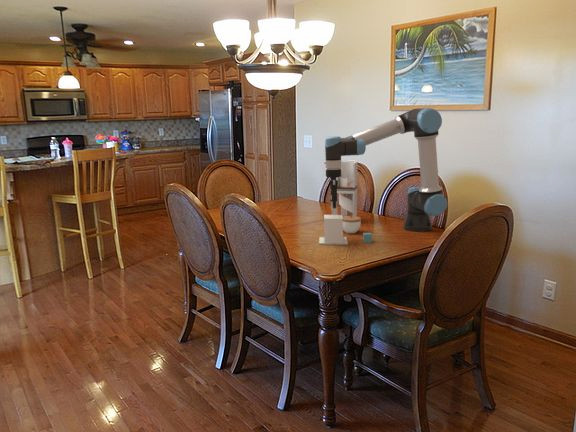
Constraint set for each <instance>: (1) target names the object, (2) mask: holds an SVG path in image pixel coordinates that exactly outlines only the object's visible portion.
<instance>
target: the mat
mask: <svg viewBox="0 0 576 432" xmlns="http://www.w3.org/2000/svg"><path fill="white" fill-rule="evenodd" d="M318 244H319V245H330V246H331V245H333V246H334V245H342V246H343V245H344V246H345V245H346V246H347V245H349V241H348V239H347V237H346V236H343V243H324V236H319V238H318Z"/></svg>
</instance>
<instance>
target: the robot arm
mask: <svg viewBox="0 0 576 432" xmlns="http://www.w3.org/2000/svg"><path fill="white" fill-rule="evenodd" d="M442 125H443V118H442V116H441V114H440V111H437V109H434V108H430V107H424V108H414V109H410V110H408V111H406V112H404V113H401V114H400V115H396V116H395V118H394V119H391V120H389V121H386V122H384V123H380V124H378V125H376V126H373V127H370V128H368V129H365V130H362V131H359V132H357V133H355V134H352V135H350V136H346V137H341V136H336V135H335V136H326V137H325V142H324V148H325V150H324V152H325V153H324V154H325V161H324V163H323V164H324V165H325V169H326V170H325V177H326V178H329V179H330V180H329V188H330V209H331V215H338V193H337V189H338V186H337V185H338V180H336V177H341V169H340V168H341V161H342V157H346V156H348V157H349V156H363V155H364V154H365V152H366V149H367V147H366V146H369V145H372V144H374V143H377V142H379V141H382V140H384V139H388V138H389V137H392V136H395V135H398V134H401V135H404V134H406V133H411V132H413V134H414V135H413V137H414V138H415V139H416V140H417V146H418V159H419V173H420V184H421V186H414V187H413V186H412V187H411V186H410V187H409V188H408V189H407V210H406V211H407V213H406V217H405V219H404V222H403V226H402V227H403V228H402V229H404V230H407V231H412V232H429V231H431V230H432V229H433V224H432V221H431V216H432V217H437V216H441V215H442V214H444V212H445V211H446V209H447V207H448V200H447V198H446V196H445V195H444V194H443V187H442V186H440V184H439V183H440V182H439V168H438V154H437V137H438V136H439V134H440V133H439V130H440V128H441V127H442Z"/></svg>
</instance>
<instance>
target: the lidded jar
mask: <svg viewBox="0 0 576 432" xmlns="http://www.w3.org/2000/svg"><path fill="white" fill-rule="evenodd" d="M361 222H362V218H361V217H360V216H352V215H350V216H344V217H343V231H344V232H345V234H355V233H357V232H358V231H359V230H360V229H361V224H362V223H361Z"/></svg>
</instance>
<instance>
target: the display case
mask: <svg viewBox="0 0 576 432" xmlns="http://www.w3.org/2000/svg"><path fill="white" fill-rule="evenodd" d="M340 169H341V177H336V180H338V185H337V186H338V189H337V194H338V204H339V206H340V215H342V217H344V216H350V215H352V216H357V215H358V160H357V161H349V160H348V161H344V160H341V168H340ZM357 217H358V216H357Z"/></svg>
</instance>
